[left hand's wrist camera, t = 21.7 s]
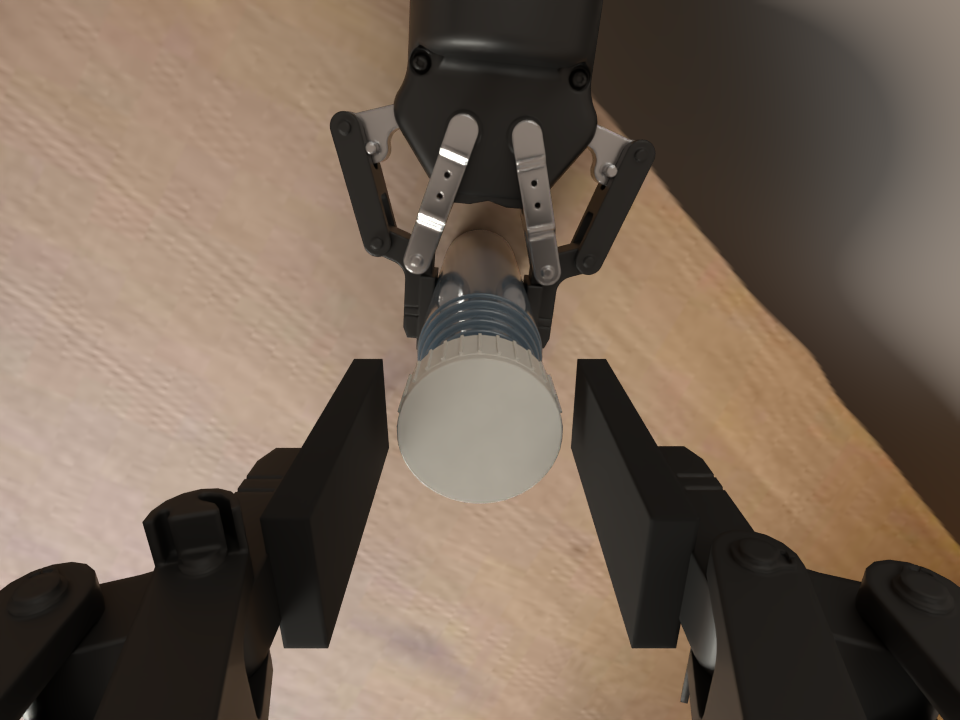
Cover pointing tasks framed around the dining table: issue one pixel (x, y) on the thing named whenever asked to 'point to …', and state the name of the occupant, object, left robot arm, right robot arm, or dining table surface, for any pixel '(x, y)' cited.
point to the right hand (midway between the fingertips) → (474, 347)
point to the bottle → (479, 296)
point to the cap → (479, 420)
